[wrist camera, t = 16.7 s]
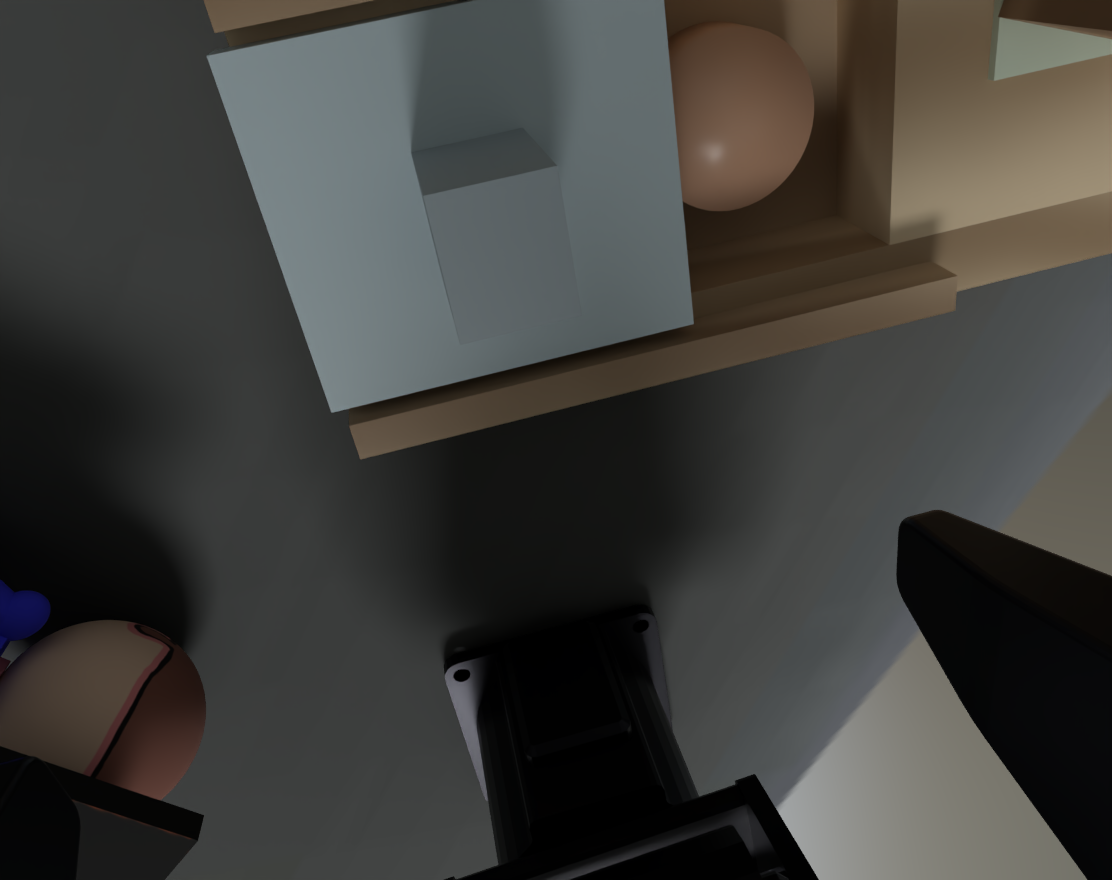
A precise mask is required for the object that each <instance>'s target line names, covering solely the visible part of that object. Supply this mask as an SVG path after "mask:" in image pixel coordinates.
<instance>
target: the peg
mask: <svg viewBox="0 0 1112 880" xmlns="http://www.w3.org/2000/svg"><path fill="white" fill-rule="evenodd" d="M998 17H1000V18H1006V19H1011V20H1016V21H1021V22H1026V23H1031V24H1036V25H1041V26H1046V27H1051V28H1057V29H1062V30H1067V31H1072V32H1077V33H1082V34H1087V35H1092V36H1097V37H1102V38H1108V39H1112V0H1004V1H1003V4H1002V7H1001V9H1000V12H999V15H998Z"/></svg>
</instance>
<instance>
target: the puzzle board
mask: <svg viewBox="0 0 1112 880" xmlns="http://www.w3.org/2000/svg"><path fill="white" fill-rule="evenodd" d="M450 1H455V0H204V3H205V6H206V9H207V11H208V14H209V17H210V20H211V23H212V26H213V29H214V32H215V33H217V32H222V31H224V32H225V35H226V38H227V41H228V44H229V47H232V46H237V45H242V44H247V43H252V42H256V41H261V40H266V39H271V38H276V37H281V36H285V35H290V34H295V33H300V32H305V31H310V30H315V29H319V28H324V27H329V26H334V25H339V24H344V23H348V22H353V21H358V20H363V19H368V18H373V17H378V16H382V15H387V14H392V13H397V12H402V11H407V10H411V9H416V8H421V7H426V6H431V5H436V4H441V3H445V2H450ZM1003 1H1004V0H664V6H665V17H666V28H667V39H668V38H669V37H671V36H672V35H674V34H675V33H677V32H678V31H681V30H683V29H685V28H687V27H689V26H692V25H695V24H698V23H703V22H709V21H724V22H731V23H736V24H740V25H745V26H750V27H754V28H758V29H762V30H765V31H768V32H770V33H772V34H774V35H776V36H778V37H780V38H781V39H782V40H784V41H785V42H787V43H788V44H789V45H790V46H791V47H792V48H793V49H794V50H795V51H796V53H797V54H798V55H799V57H800V58H801V59H802V61H803V63H804V65H805V67H806V69H807V71H808V74H809V77H810V79H811V84H812V88H813V95H814V118H813V125H812V130H811V134H810V137H809V140H808V143H807V146H806V148H805V151H804V153H803V155H802V157H801V159H800V160H799V162H798V164H797V165H796V167H795V168H794V170H793V171H792V172H791V174H790V175H789V176H788V177H787V178H786V180H785V181H784V182H783V183H782V184H781V185H780V186H779V187H778V188H776V189H775V190H774V191H773V192H771V193H770V194H769V195H767V196H766V197H764V198H763V199H761V200H759V201H757V202H755V203H753V204H751V205H749V206H746V207H743V208H740V209H735V210H730V211H708V210H704V209H699V208H696V207H694V206H691V205H689V204H687V203H685V202H683V212H684V223H685V233H686V244H687V255H688V266H689V277H690V287H691V298H692V309H693V320H694V324H692V325H688V326H684V327H680V328H676V329H672V330H668V331H663V332H659V333H655V334H651V335H647V336H643V337H639V338H635V339H631V340H627V341H623V342H619V343H614V344H610V345H606V346H602V347H598V348H594V349H590V350H586V351H582V352H578V353H574V354H570V355H566V356H561V357H557V358H553V359H549V360H545V361H541V362H537V363H533V364H529V365H525V366H521V367H517V368H513V369H508V370H504V371H500V372H496V373H492V374H488V375H484V376H480V377H476V378H472V379H468V380H464V381H460V382H455V383H451V384H447V385H443V386H439V387H435V388H431V389H427V390H423V391H419V392H415V393H411V394H406V395H402V396H398V397H394V398H390V399H386V400H382V401H378V402H374V403H370V404H366V405H362V406H358V407H353V408H349V428H350V431H351V433H352V436H353V439H354V442H355V445H356V448H357V451H358V454H359V457H360V460H361V459H365V458H369V457H373V456H377V455H381V454H385V453H389V452H393V451H397V450H401V449H405V448H409V447H413V446H417V445H421V444H425V443H429V442H432V441H436V440H440V439H444V438H448V437H452V436H456V435H460V434H464V433H468V432H472V431H476V430H480V429H484V428H488V427H492V426H496V425H500V424H504V423H508V422H512V421H516V420H520V419H524V418H528V417H532V416H536V415H540V414H544V413H548V412H552V411H556V410H560V409H564V408H568V407H572V406H576V405H580V404H584V403H588V402H592V401H596V400H600V399H604V398H608V397H612V396H616V395H620V394H624V393H628V392H632V391H636V390H640V389H644V388H648V387H652V386H656V385H660V384H664V383H668V382H672V381H676V380H680V379H684V378H688V377H692V376H696V375H700V374H704V373H708V372H712V371H716V370H720V369H724V368H728V367H732V366H736V365H740V364H744V363H748V362H752V361H756V360H760V359H764V358H768V357H772V356H776V355H780V354H784V353H788V352H792V351H796V350H800V349H804V348H808V347H812V346H816V345H820V344H824V343H828V342H832V341H836V340H840V339H843V338H847V337H851V336H855V335H859V334H863V333H867V332H871V331H875V330H879V329H883V328H887V327H891V326H895V325H899V324H903V323H907V322H911V321H915V320H919V319H923V318H927V317H931V316H935V315H939V314H943V313H947V312H951V311H955V305H956V293H957V291H961V290H965V289H969V288H973V287H977V286H981V285H985V284H989V283H993V282H997V281H1001V280H1005V279H1009V278H1013V277H1017V276H1021V275H1025V274H1029V273H1033V272H1037V271H1041V270H1045V269H1049V268H1054V267H1058V266H1062V265H1066V264H1070V263H1074V262H1078V261H1082V260H1086V259H1090V258H1094V257H1098V256H1102V255H1106V254H1110V253H1112V39H1108V38H1102V37H1097V36H1092V35H1087V34H1082V33H1077V32H1072V31H1067V30H1062V29H1057V28H1051V27H1046V26H1041V25H1036V24H1031V23H1026V22H1021V21H1016V20H1011V19H1006V18H1000V17H998V15H999V12H1000V9H1001V7H1002V4H1003Z"/></svg>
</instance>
